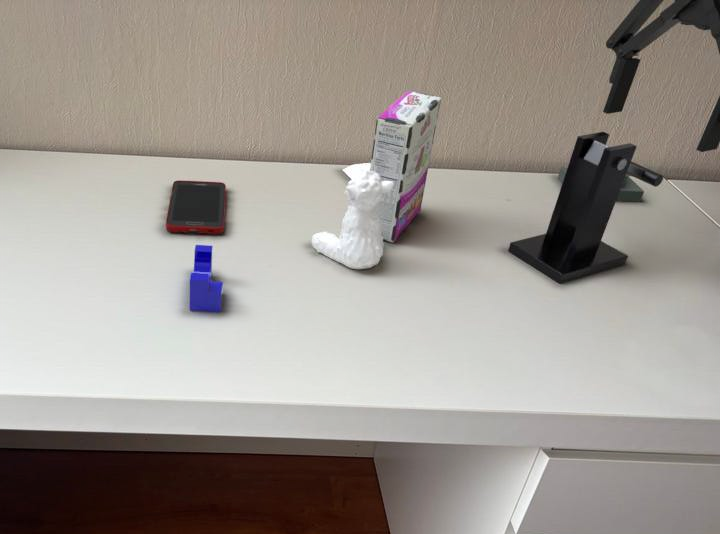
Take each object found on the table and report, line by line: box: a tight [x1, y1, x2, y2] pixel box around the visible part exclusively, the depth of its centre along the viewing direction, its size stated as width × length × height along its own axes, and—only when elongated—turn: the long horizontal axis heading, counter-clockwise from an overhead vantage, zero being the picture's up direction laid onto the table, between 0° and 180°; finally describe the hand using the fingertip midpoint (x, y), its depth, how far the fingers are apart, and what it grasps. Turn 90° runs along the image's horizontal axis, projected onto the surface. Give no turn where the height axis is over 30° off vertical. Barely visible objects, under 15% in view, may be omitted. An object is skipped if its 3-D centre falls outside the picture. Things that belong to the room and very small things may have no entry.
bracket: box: [507, 131, 637, 284], centre depth 94 cm, size 12×9×16 cm
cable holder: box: [189, 244, 224, 313], centre depth 86 cm, size 8×4×4 cm, turn 178°
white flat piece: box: [342, 162, 371, 180], centre depth 112 cm, size 5×15×1 cm, turn 16°
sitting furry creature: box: [311, 170, 394, 270], centre depth 92 cm, size 10×9×12 cm
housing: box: [557, 167, 645, 203], centre depth 116 cm, size 10×8×4 cm
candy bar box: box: [370, 90, 442, 244], centre depth 99 cm, size 11×5×16 cm, turn 150°
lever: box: [584, 141, 664, 188], centre depth 93 cm, size 12×5×2 cm, turn 117°
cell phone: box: [165, 179, 227, 235], centre depth 104 cm, size 8×15×1 cm, turn 0°
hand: (656, 130), depth 92 cm, fingers open, 13 cm apart
